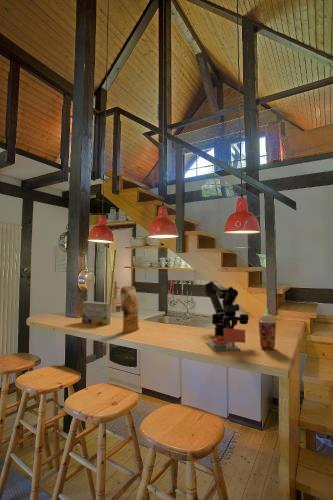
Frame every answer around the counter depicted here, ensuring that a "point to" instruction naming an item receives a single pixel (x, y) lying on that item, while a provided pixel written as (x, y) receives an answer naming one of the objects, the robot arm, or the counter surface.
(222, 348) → the grey base plate
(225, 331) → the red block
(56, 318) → the counter surface
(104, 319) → the snack box
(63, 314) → the counter surface
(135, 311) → the pancake mix bag
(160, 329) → the counter surface
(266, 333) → the smoothie
